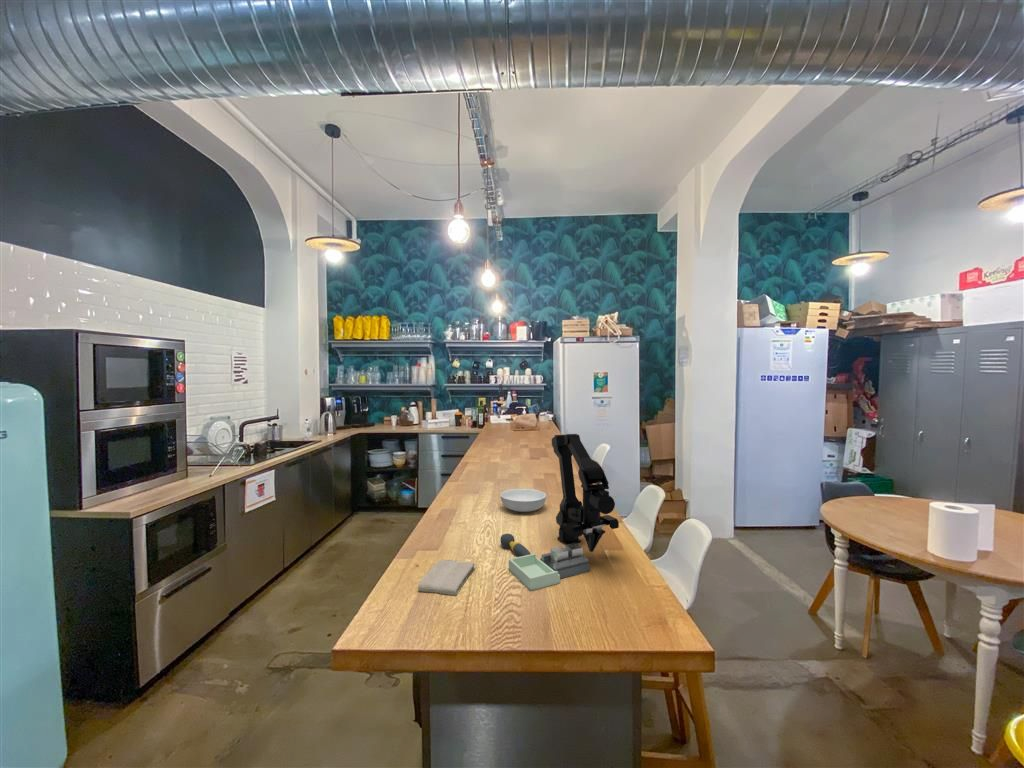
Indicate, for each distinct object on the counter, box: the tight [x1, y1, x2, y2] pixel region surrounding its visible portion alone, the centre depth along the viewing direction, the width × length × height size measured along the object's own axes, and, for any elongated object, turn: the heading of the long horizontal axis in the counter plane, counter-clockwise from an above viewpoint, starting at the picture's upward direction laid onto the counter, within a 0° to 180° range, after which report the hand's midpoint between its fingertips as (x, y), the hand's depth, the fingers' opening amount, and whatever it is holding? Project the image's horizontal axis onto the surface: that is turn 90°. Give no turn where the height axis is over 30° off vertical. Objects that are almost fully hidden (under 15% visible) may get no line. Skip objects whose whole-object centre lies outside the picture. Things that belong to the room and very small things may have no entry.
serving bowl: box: [500, 488, 547, 513], centre depth 191 cm, size 21×21×7 cm
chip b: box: [550, 545, 568, 563], centre depth 132 cm, size 4×4×4 cm
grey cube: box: [564, 543, 584, 560], centre depth 134 cm, size 4×4×4 cm
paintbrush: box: [499, 533, 532, 557], centre depth 145 cm, size 20×5×5 cm, turn 38°
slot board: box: [539, 552, 591, 580], centre depth 133 cm, size 12×10×4 cm
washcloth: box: [417, 558, 476, 596], centre depth 126 cm, size 12×18×3 cm, turn 168°
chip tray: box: [508, 553, 561, 592], centre depth 128 cm, size 10×14×4 cm
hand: (591, 551), depth 137 cm, fingers closed
